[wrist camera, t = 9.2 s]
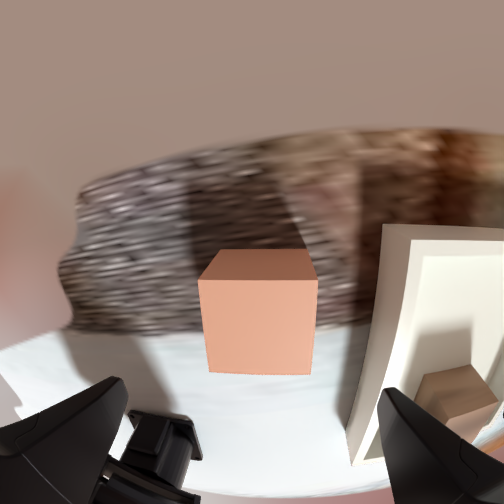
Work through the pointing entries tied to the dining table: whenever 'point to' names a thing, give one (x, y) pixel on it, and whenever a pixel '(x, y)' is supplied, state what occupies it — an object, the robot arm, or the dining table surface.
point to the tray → (430, 319)
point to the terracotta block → (259, 311)
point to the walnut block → (457, 399)
